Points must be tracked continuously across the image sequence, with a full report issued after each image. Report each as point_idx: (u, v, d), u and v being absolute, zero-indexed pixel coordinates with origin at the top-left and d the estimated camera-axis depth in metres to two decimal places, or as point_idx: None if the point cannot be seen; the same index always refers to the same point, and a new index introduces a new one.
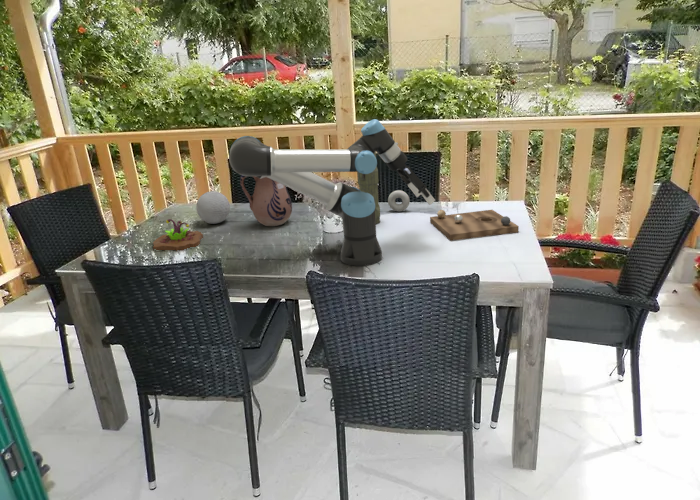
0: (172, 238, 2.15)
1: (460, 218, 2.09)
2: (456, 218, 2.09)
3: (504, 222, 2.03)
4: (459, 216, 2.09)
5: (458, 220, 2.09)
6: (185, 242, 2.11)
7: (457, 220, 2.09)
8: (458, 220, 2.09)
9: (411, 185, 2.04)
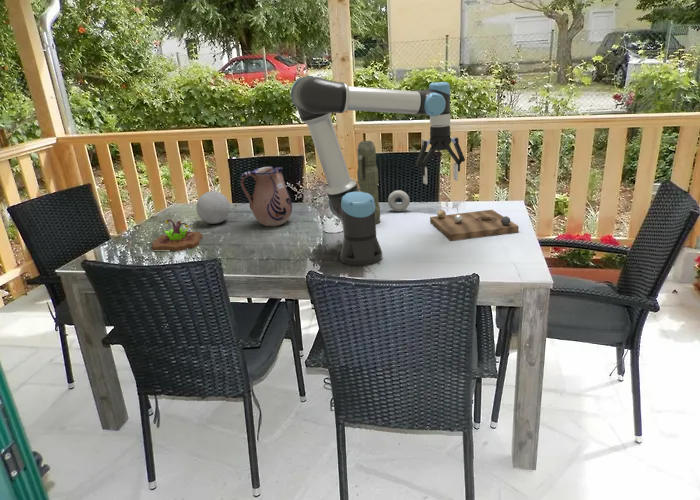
0: (171, 238, 2.14)
1: (460, 218, 2.09)
2: (456, 218, 2.09)
3: (504, 222, 2.03)
4: (459, 216, 2.09)
5: (458, 220, 2.09)
6: (184, 242, 2.11)
7: (457, 220, 2.09)
8: (458, 220, 2.09)
9: None
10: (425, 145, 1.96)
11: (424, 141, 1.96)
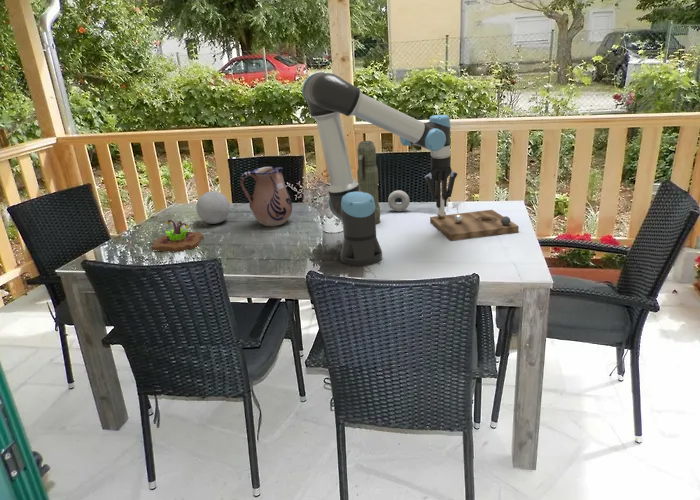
0: (171, 239, 2.14)
1: (460, 218, 2.09)
2: (456, 218, 2.09)
3: (504, 222, 2.03)
4: (459, 216, 2.09)
5: (458, 220, 2.09)
6: (184, 243, 2.10)
7: (457, 220, 2.09)
8: (458, 220, 2.09)
9: None
10: (429, 180, 2.01)
11: (426, 177, 2.01)
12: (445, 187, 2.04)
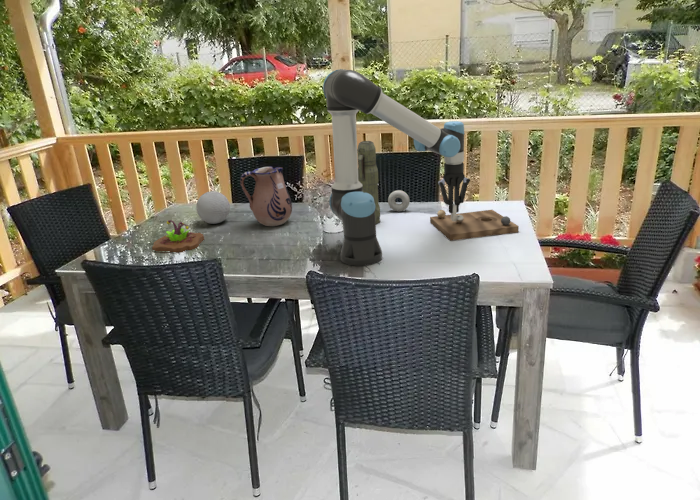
0: (172, 239, 2.13)
1: (461, 218, 2.09)
2: (457, 217, 2.09)
3: (504, 222, 2.03)
4: (460, 216, 2.09)
5: (459, 220, 2.09)
6: (183, 244, 2.09)
7: (458, 219, 2.09)
8: (458, 220, 2.09)
9: None
10: (442, 185, 2.03)
11: (439, 183, 2.03)
12: (458, 193, 2.05)
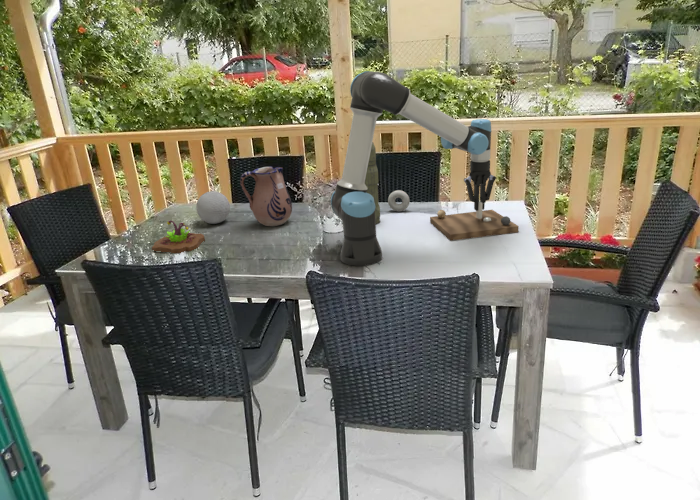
0: (172, 240, 2.12)
1: None
2: None
3: (504, 222, 2.03)
4: None
5: (489, 220, 2.12)
6: (182, 245, 2.08)
7: (489, 220, 2.12)
8: (489, 220, 2.11)
9: None
10: (468, 183, 2.05)
11: (466, 180, 2.04)
12: (484, 190, 2.07)
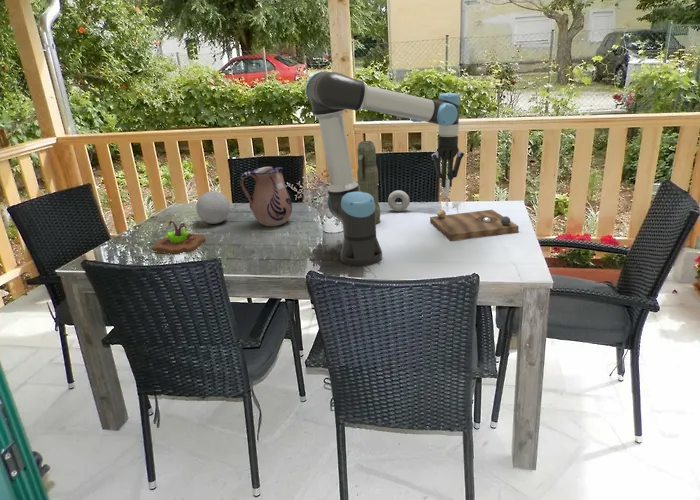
0: (171, 240, 2.12)
1: None
2: (490, 219, 2.12)
3: (504, 222, 2.03)
4: None
5: None
6: (180, 246, 2.07)
7: (488, 220, 2.12)
8: (488, 220, 2.11)
9: None
10: (436, 158, 2.01)
11: (433, 155, 2.00)
12: (451, 167, 2.03)
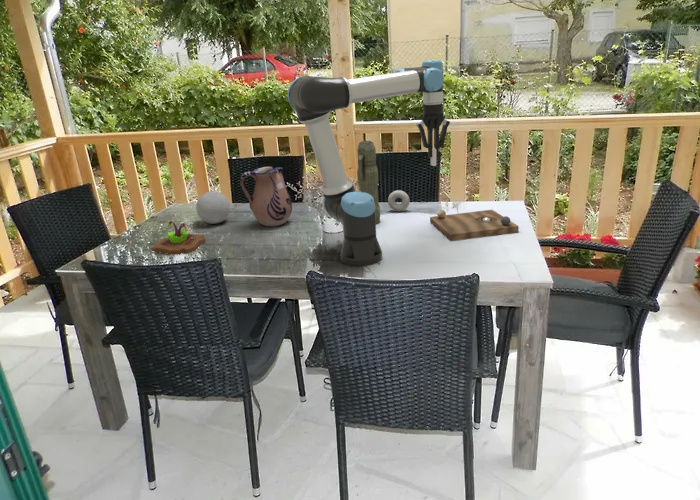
0: (171, 241, 2.11)
1: None
2: (489, 219, 2.12)
3: (504, 222, 2.03)
4: None
5: None
6: (180, 246, 2.07)
7: (488, 220, 2.11)
8: (487, 220, 2.11)
9: None
10: (421, 127, 1.98)
11: (418, 125, 1.97)
12: (437, 136, 2.00)
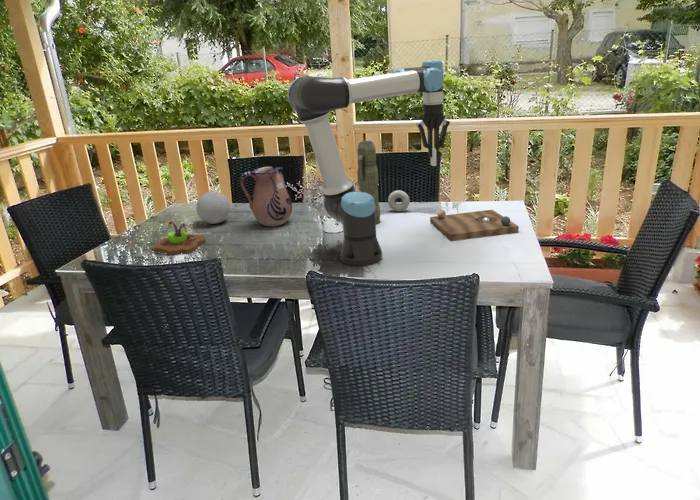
0: (171, 241, 2.11)
1: None
2: (489, 219, 2.12)
3: (504, 222, 2.03)
4: None
5: None
6: (179, 247, 2.06)
7: (487, 220, 2.11)
8: (487, 220, 2.11)
9: None
10: (421, 127, 1.98)
11: (418, 125, 1.97)
12: (437, 136, 2.00)
